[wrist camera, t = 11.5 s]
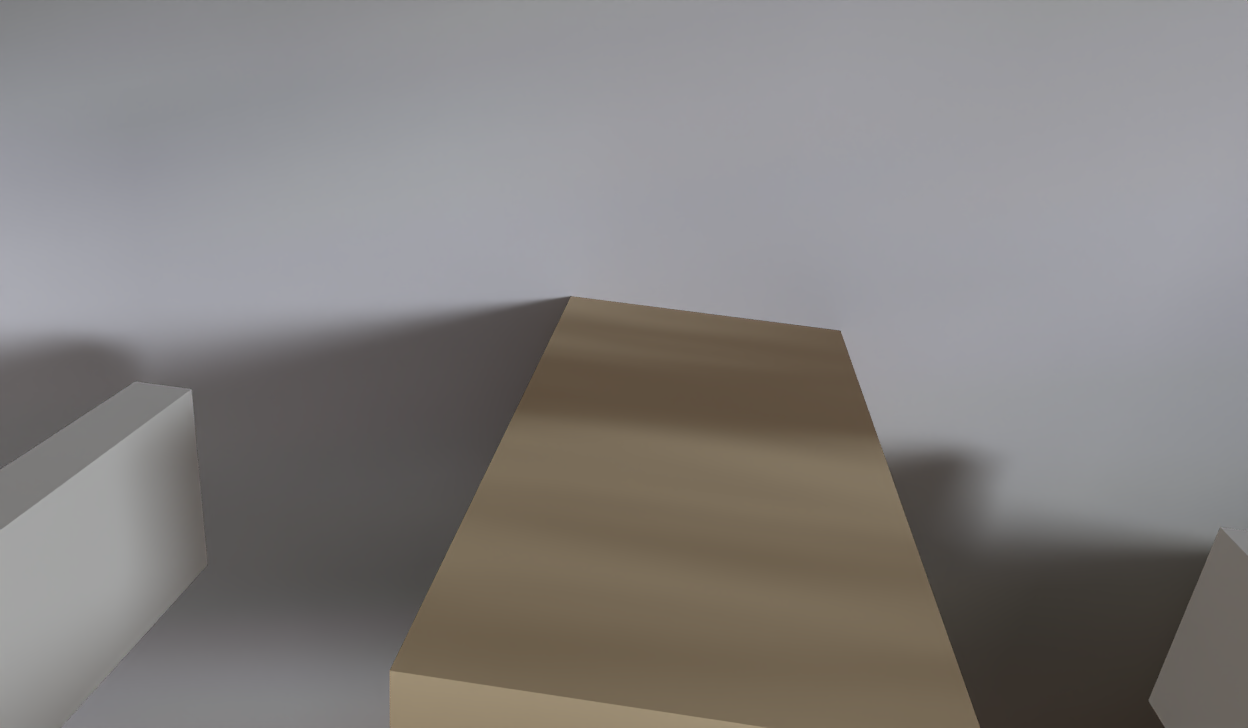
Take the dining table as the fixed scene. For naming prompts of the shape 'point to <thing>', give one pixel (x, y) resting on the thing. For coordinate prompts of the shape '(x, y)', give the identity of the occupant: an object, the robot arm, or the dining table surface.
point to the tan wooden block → (683, 546)
